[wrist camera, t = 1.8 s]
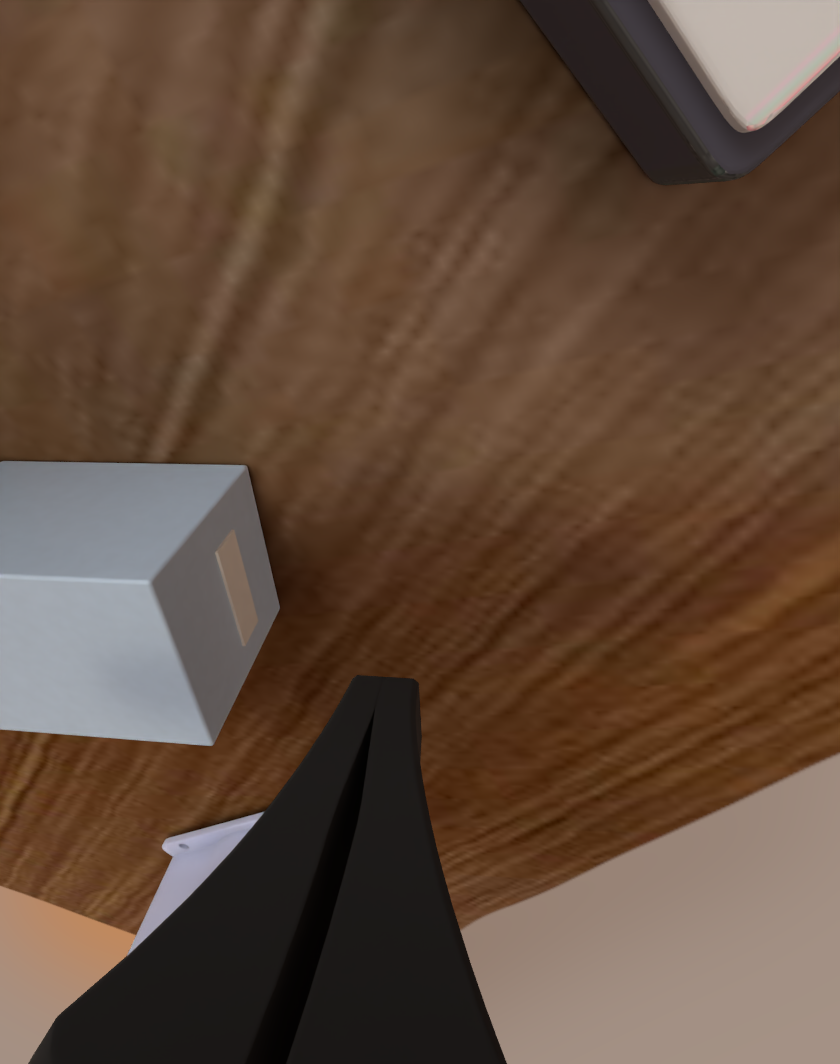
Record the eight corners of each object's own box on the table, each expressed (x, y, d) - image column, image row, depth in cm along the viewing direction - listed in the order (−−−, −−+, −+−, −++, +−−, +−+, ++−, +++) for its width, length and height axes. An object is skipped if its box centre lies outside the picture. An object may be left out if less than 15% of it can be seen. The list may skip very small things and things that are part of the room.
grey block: (250, 464, 16) (152, 582, 12) (283, 608, 19) (216, 748, 15) (2, 459, 17) (-182, 567, 12) (71, 598, 20) (-56, 726, 16)
